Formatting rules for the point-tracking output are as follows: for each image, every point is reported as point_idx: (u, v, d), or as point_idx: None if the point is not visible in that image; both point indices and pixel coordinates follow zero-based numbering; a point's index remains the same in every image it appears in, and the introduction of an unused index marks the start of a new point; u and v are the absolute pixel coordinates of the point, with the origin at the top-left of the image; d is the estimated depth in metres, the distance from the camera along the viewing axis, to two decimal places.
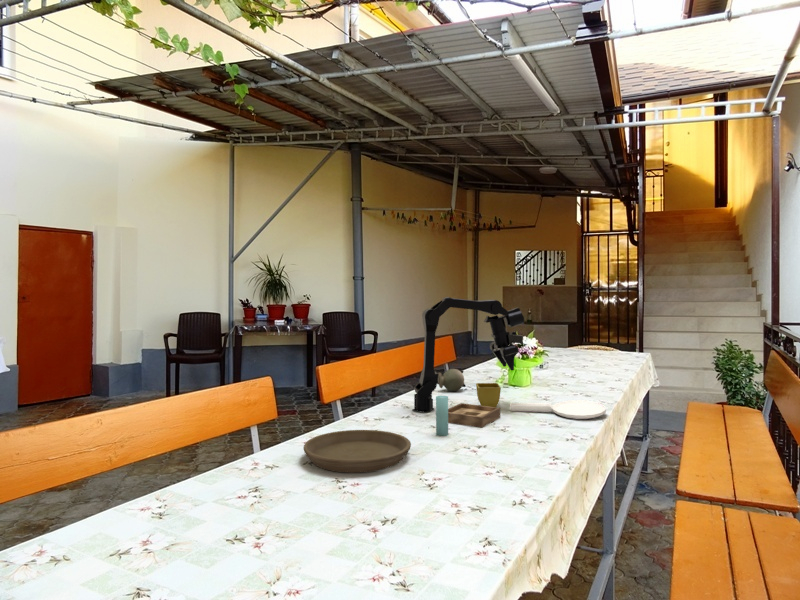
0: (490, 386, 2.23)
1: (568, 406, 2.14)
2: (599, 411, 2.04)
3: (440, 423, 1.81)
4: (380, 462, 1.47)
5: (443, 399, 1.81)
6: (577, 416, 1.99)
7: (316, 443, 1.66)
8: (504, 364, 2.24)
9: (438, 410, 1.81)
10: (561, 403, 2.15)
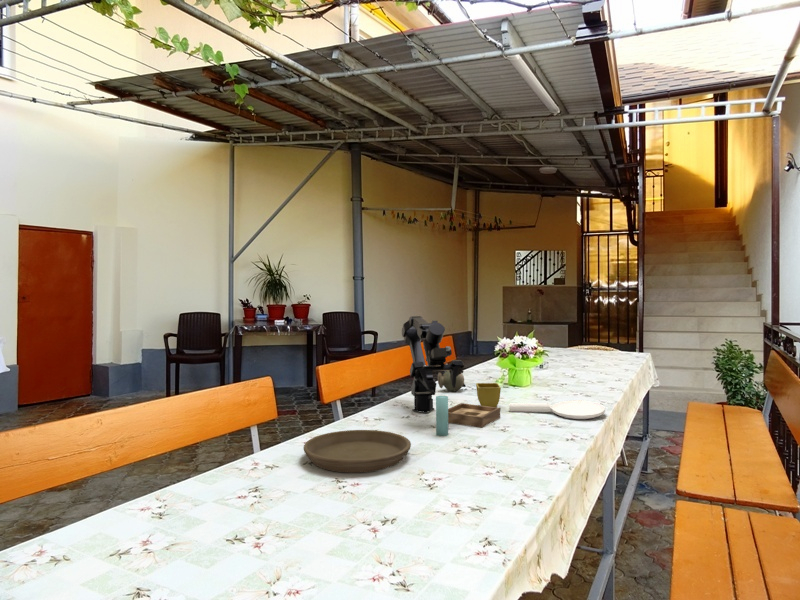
0: (490, 386, 2.23)
1: (567, 406, 2.13)
2: (598, 411, 2.04)
3: (440, 423, 1.81)
4: (380, 462, 1.47)
5: (443, 399, 1.81)
6: (576, 416, 1.98)
7: (316, 443, 1.66)
8: (453, 386, 1.92)
9: (438, 410, 1.81)
10: (560, 403, 2.15)
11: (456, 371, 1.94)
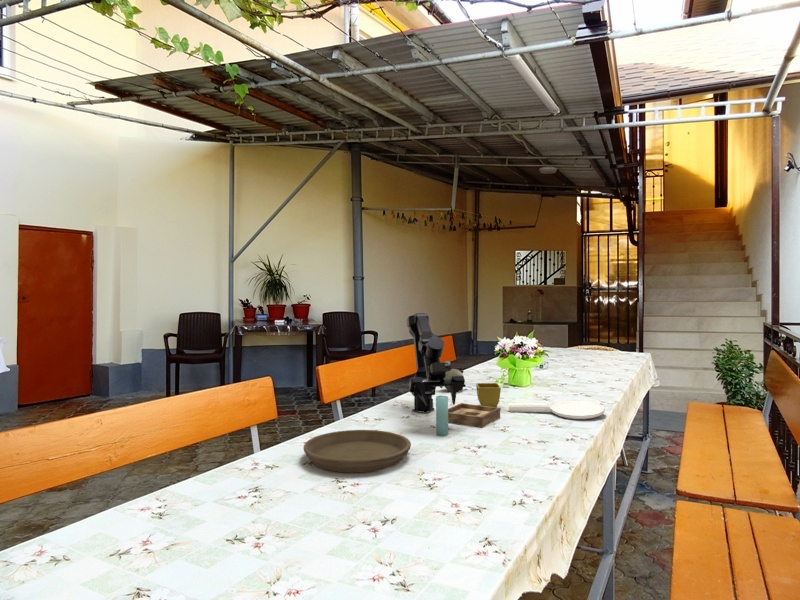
0: (490, 386, 2.23)
1: (566, 406, 2.13)
2: (598, 411, 2.04)
3: (440, 423, 1.81)
4: (380, 462, 1.47)
5: (443, 399, 1.81)
6: (576, 416, 1.98)
7: (316, 443, 1.66)
8: (453, 402, 1.86)
9: (438, 410, 1.81)
10: (559, 403, 2.15)
11: (456, 387, 1.88)
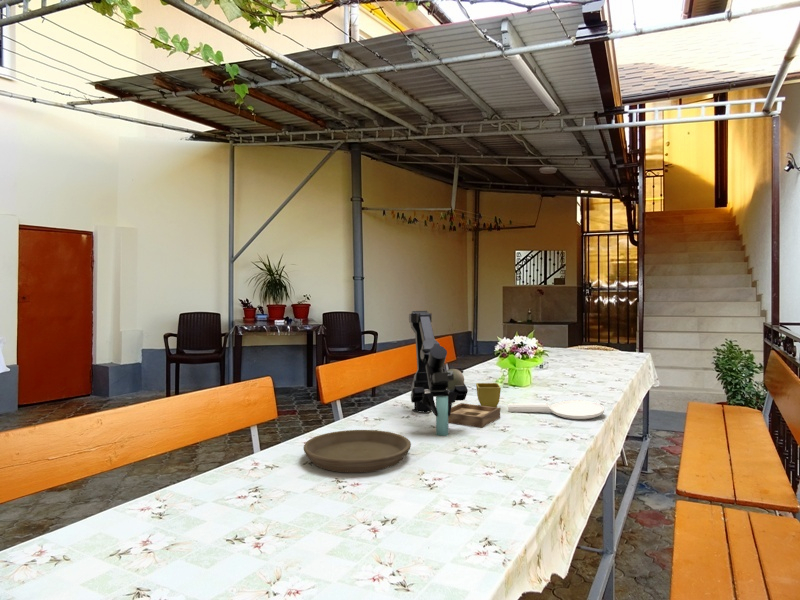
0: (490, 386, 2.23)
1: (566, 406, 2.13)
2: (597, 411, 2.04)
3: (440, 423, 1.81)
4: (380, 462, 1.47)
5: (443, 399, 1.81)
6: (576, 416, 1.98)
7: (316, 443, 1.66)
8: (448, 413, 1.83)
9: (438, 410, 1.81)
10: (559, 403, 2.15)
11: (452, 397, 1.85)
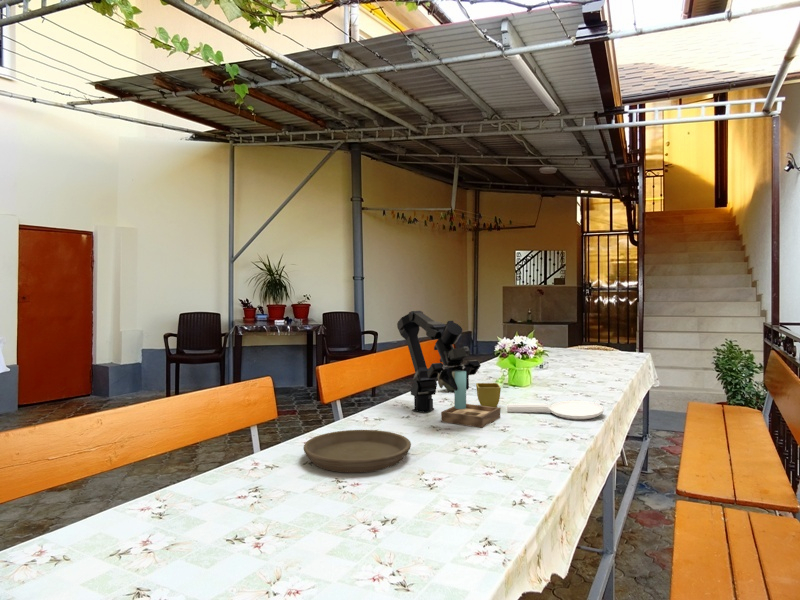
0: (490, 386, 2.23)
1: (565, 407, 2.13)
2: (596, 411, 2.04)
3: (459, 396, 1.88)
4: (380, 462, 1.47)
5: (463, 373, 1.87)
6: (575, 417, 1.98)
7: (316, 443, 1.66)
8: (466, 386, 1.90)
9: (458, 384, 1.87)
10: (558, 403, 2.15)
11: (468, 372, 1.92)
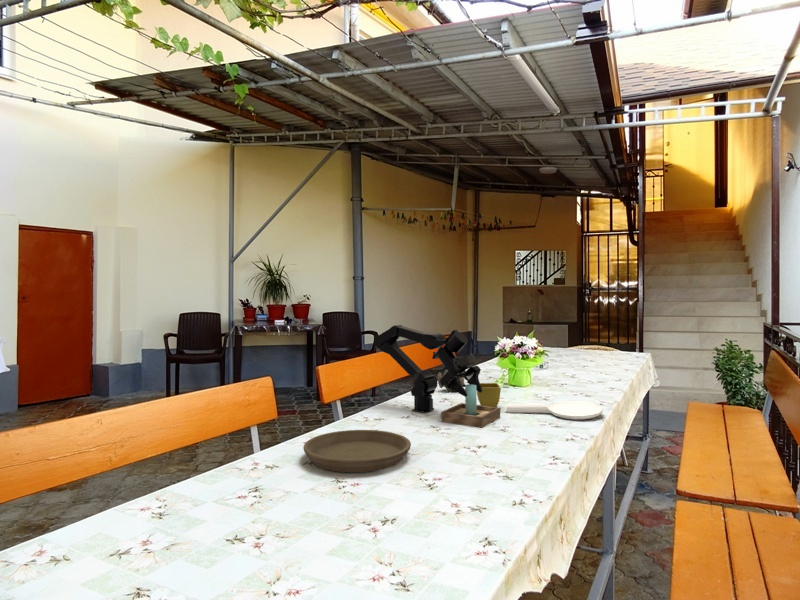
0: (490, 386, 2.23)
1: (564, 407, 2.13)
2: (596, 411, 2.04)
3: (472, 409, 2.00)
4: (380, 462, 1.47)
5: (475, 387, 2.00)
6: (575, 417, 1.98)
7: (316, 443, 1.66)
8: (479, 390, 2.04)
9: (471, 397, 1.99)
10: (557, 404, 2.14)
11: (477, 376, 2.06)
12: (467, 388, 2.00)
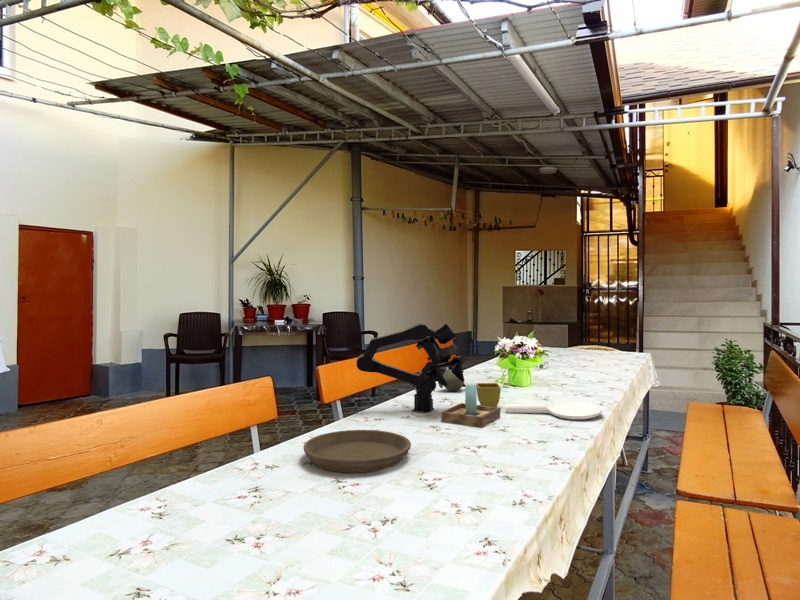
0: (490, 386, 2.23)
1: (563, 407, 2.13)
2: (595, 411, 2.04)
3: (472, 409, 2.00)
4: (380, 462, 1.47)
5: (475, 387, 2.00)
6: (574, 417, 1.98)
7: (316, 443, 1.66)
8: (461, 379, 2.10)
9: (471, 397, 1.99)
10: (556, 404, 2.14)
11: (461, 366, 2.12)
12: (467, 388, 2.00)
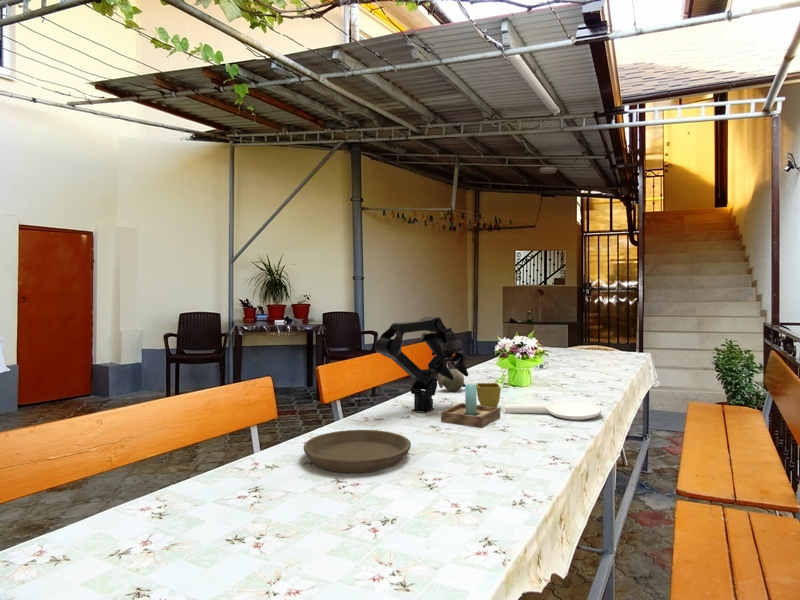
0: (490, 386, 2.23)
1: (562, 407, 2.13)
2: (594, 411, 2.04)
3: (472, 409, 2.00)
4: (380, 462, 1.47)
5: (475, 387, 2.00)
6: (574, 417, 1.97)
7: (316, 443, 1.66)
8: (465, 374, 2.15)
9: (471, 397, 1.99)
10: (555, 404, 2.14)
11: (464, 361, 2.17)
12: (467, 388, 2.00)
